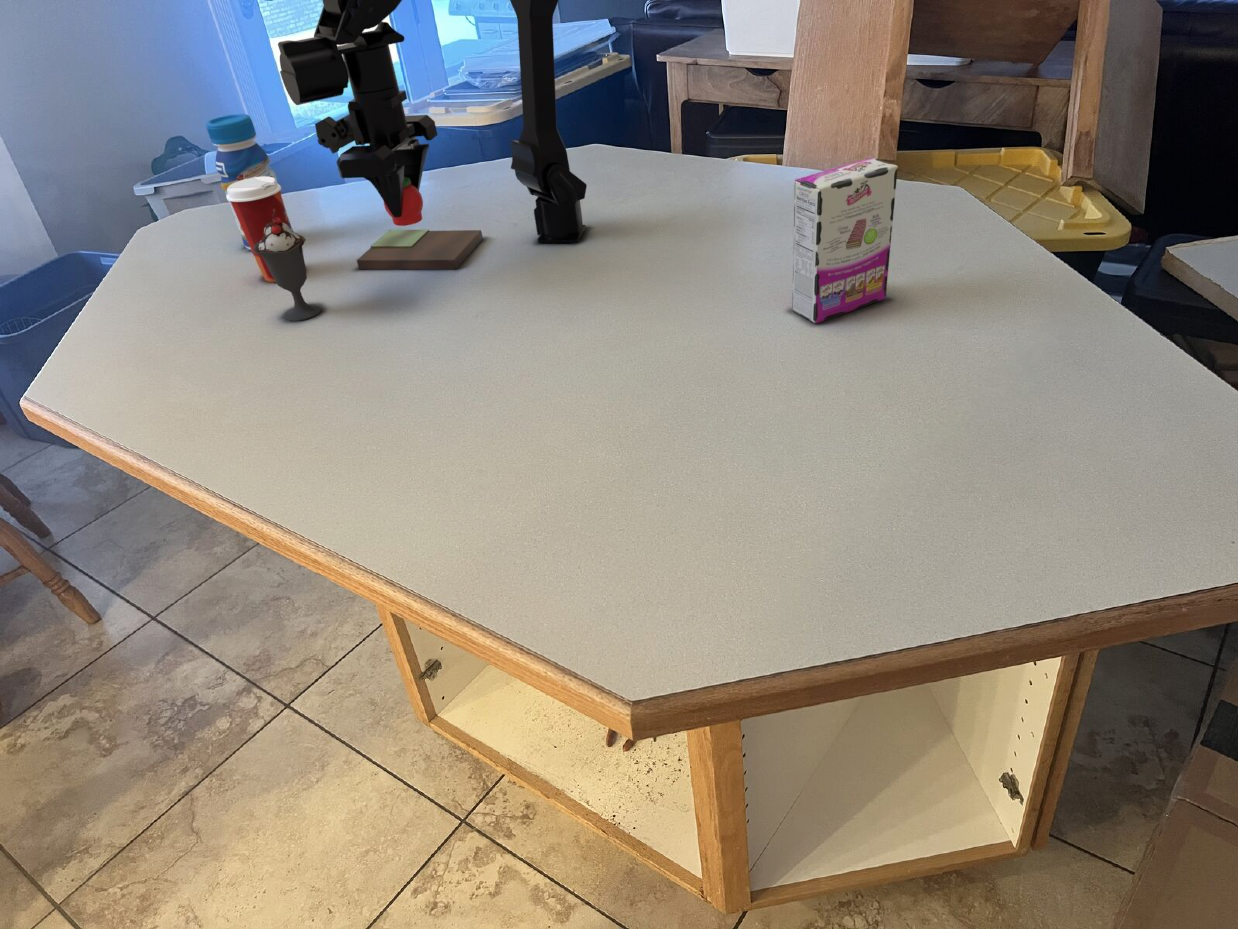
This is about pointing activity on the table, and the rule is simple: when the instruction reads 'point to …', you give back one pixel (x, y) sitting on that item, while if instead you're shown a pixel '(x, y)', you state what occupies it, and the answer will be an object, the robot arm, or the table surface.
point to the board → (420, 249)
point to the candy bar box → (842, 238)
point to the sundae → (286, 265)
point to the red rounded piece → (409, 205)
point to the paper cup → (257, 211)
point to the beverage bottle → (238, 154)
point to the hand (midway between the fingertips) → (405, 209)
